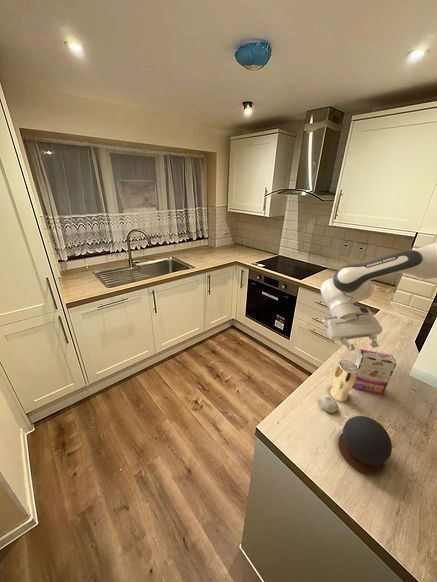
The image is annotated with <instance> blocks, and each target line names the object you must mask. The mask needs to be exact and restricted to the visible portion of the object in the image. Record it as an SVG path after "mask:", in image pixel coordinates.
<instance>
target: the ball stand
mask: <svg viewBox="0 0 437 582" xmlns="http://www.w3.org/2000/svg"><path fill="white" fill-rule="evenodd" d="M391 439H392V438H391V437H390V434H389V433H388V431H387V429H386V428H384V426H383V425H382V424H381V423H380V422H378V421H377V420H375V419H373V418H372V417H370V416H365V415H356V416H352V417H350V418H349V419H347V420H346V422H345V423H344V425H343V427H342V433H341V434H340V435H339V437H338V441H337V447H338V451H339V453H340V455H341V456H342V458H343V459H344V460H345V461H346V463H347V464H348V465H349V466H351V468H353V469H354V470H356V471H358V472H360V473H361V474H364V475H368V476H375V475H379V474H380V473H381V472H382V471H383V470H384V468H385V464H386V462H387V461H388V460H389V459H390V457H391V455H392V451H393V443H392V440H391Z"/></svg>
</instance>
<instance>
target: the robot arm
mask: <svg viewBox="0 0 437 582" xmlns="http://www.w3.org/2000/svg"><path fill="white" fill-rule="evenodd" d="M395 274H406V275H411V276H414V277H416V278H419V279H423V280H430V279H437V241H436V242H433V243H431V244H428V245H425V246H422V247H421V246H420V247H419V248H415V249H410V250H404V251H400V252H399V251H398V252H396V253H392V254H389V255H386V256H383V257H380V258H376V259H372V260H368V261H366V262H362V263H353V264H346V265H343V266H341V267H339V268H338V269H337V270H336V271H335V273H334V275H333V277H330V278H328V279H326V280H325V281H323V282H322V284H321V285H320V294H321V297H322V299H323V301H324V303H325V306H327V307H328V309H329V312H330V315H331V316H325V317H324V318H323V319H322V324H323V326H324V328H325V331H326V334H327V337H328V339H329V340H330V341H332V342H338V341H339V342H340V343H341V344H342V345H343V346H345V348H346V349H347V350H348V351H349V352H352V351H355V350H356V347H355V345H354V344H351V343H350V342H349V341H348V340H353V339H354V340H355V339H361V338H368V339H369V340H371V341H370V343H369V345H370V346H371V348H372V349H375V348H378V347H379V342H378V341H377V338H378V337H377V336H379V335H380V334H381V333H382V332H383V327H382V325H381V324H380V322H379V321H378V319H377V318H376V317H375V316H374V315H373V314H371V313H372V311H371V309H370V308H368V307H363V306H358V305H354V304H356V303H359V302H362V301H365V300H367V299H369V298H370V297H371V296H372V295H373V293H374V287H375V286H374V284H373V283H372V280H376V279H380V278H383V277H387V276H391V275H395Z"/></svg>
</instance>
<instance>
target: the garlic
mask: <svg viewBox="0 0 437 582" xmlns="http://www.w3.org/2000/svg"><path fill="white" fill-rule="evenodd" d="M320 406H321V408H322V410H324V411H325V412H328V413H332V414H333V413H335V412H337V411H338V410H339V405H338V402H337V400H336V399H335V398H333V397H332V396H329V395H326V396H321V398H320Z"/></svg>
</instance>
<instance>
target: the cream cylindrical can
mask: <svg viewBox="0 0 437 582" xmlns="http://www.w3.org/2000/svg"><path fill="white" fill-rule="evenodd" d="M358 372H359V368H358V366H357V365H356V364H355V362H353V361H351V360H347V359H340V360H339V361H338V364H337V365H336V368H335V371H334V374H333V384H332V387H331V389H330V392H329V394H330V396H331V397H332V398H333V399H334V400H335V401H338V402H346V401H347V399H348V394H349V393H350V391H351V389H352V388H353V387H352V386H353V385H354V383H355V381H356V379H357V376H358Z"/></svg>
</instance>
